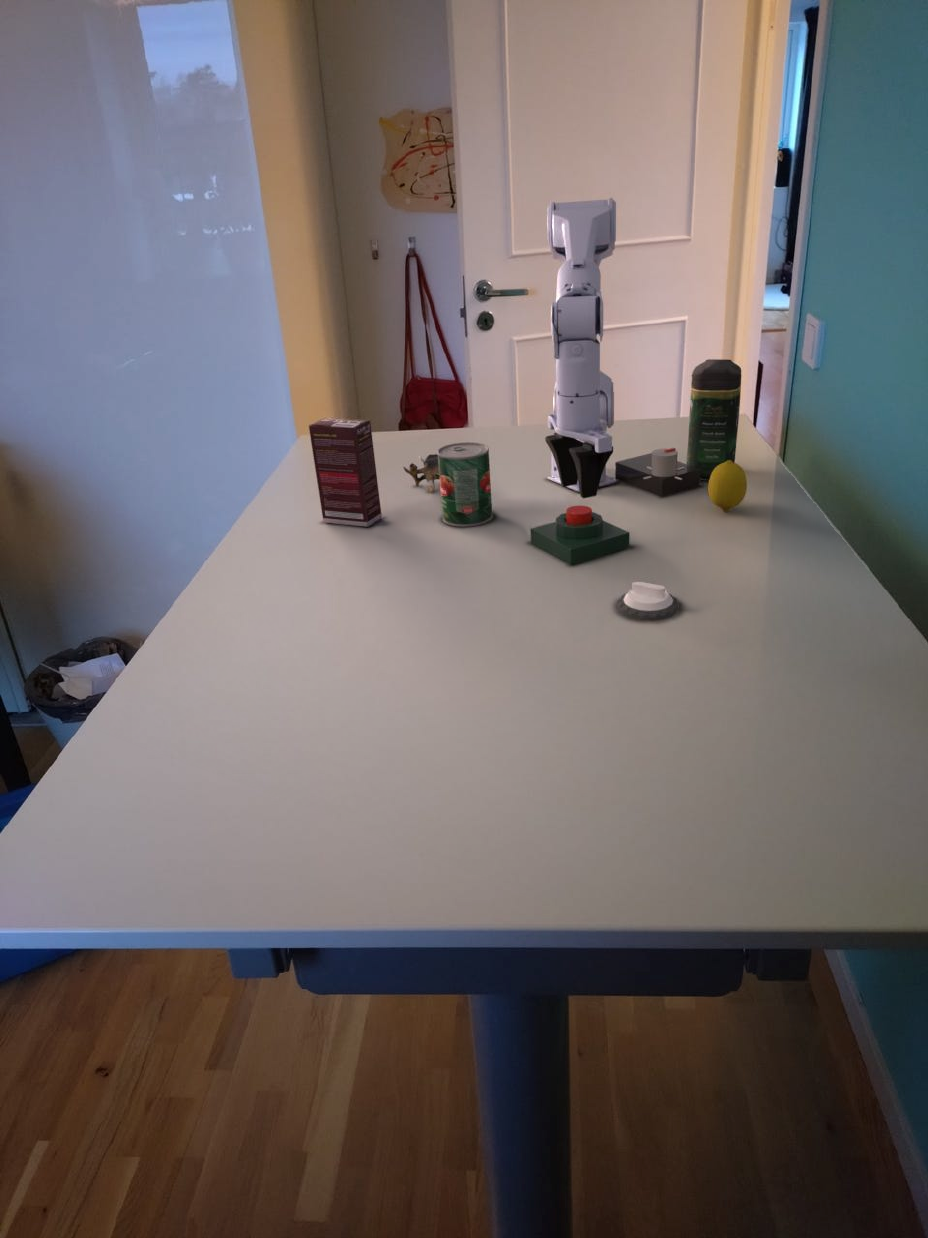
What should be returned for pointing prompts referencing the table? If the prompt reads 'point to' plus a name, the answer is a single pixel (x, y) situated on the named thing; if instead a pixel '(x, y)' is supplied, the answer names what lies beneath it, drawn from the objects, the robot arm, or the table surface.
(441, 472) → the canned tomato
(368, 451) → the supplement box
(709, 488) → the lemon
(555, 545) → the control block
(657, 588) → the stove knob
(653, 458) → the dial
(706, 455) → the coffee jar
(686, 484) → the rotary knob box
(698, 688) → the table surface
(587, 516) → the button
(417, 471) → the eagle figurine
